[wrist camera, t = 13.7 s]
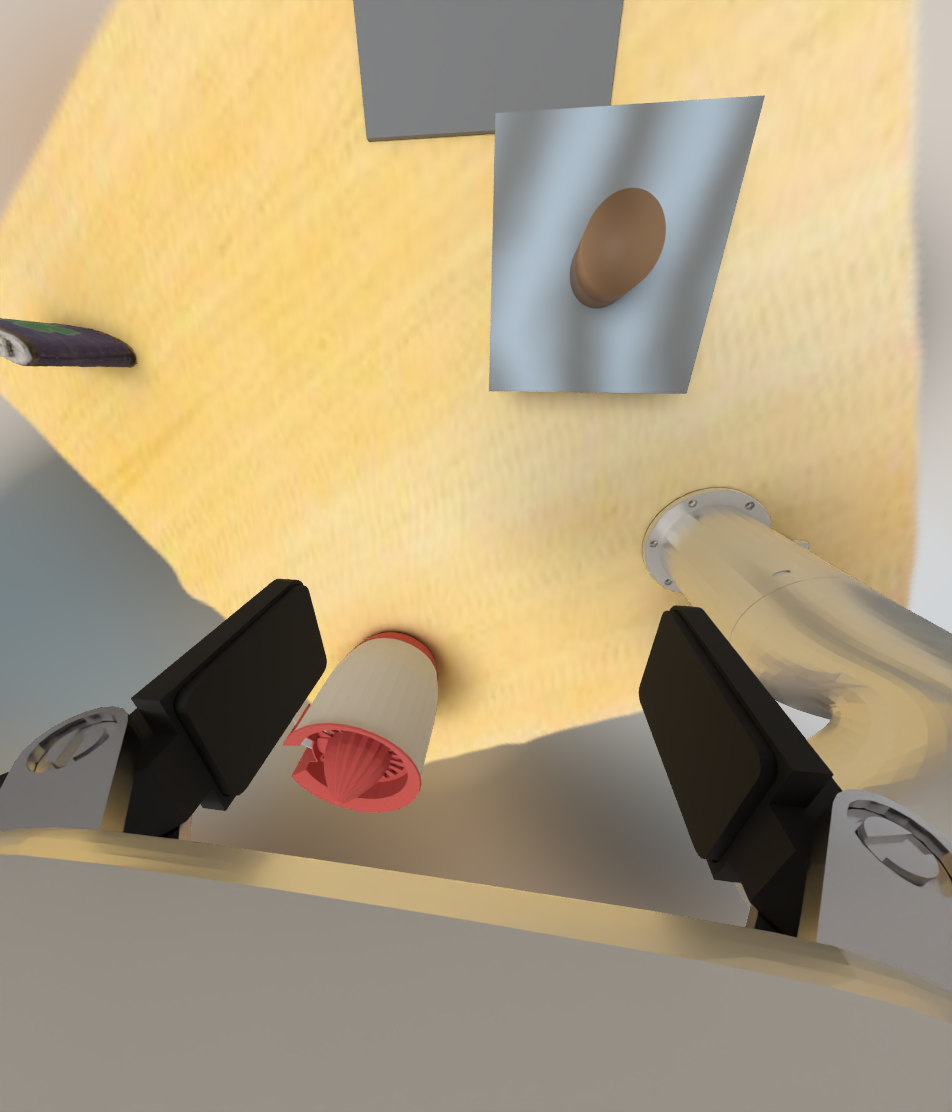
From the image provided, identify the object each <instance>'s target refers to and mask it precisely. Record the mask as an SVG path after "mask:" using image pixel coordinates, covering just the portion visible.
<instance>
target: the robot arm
mask: <svg viewBox="0 0 952 1112" xmlns="http://www.w3.org/2000/svg"><path fill="white" fill-rule="evenodd" d="M689 501H691V502H690V503H689ZM651 541H652V542H651ZM808 549H809V544H808V542H807V541H804V540H790V539H788V538H787V537H785V536H783V535H782V534H780V533H778V532H776V531H775V530H773V529H772V523H771V519H770V516H769V514H768V512H767V510H766V509H765V507H764V506H763V505H762V504H761V503H760V502H759V501H758V500H756V499H754V498H753V497H751V496H749V495H747V494H745V493H743V492H741V491H738V490H734V489H729V488H709V489H702V490H699V491H696V492H692V493H689V494H687V495H685V496H683V497H681V498H679V499H677V500H675V501H674V502H673V503H671V504H670V505H668V506H667V507H666V508H665V509H663V510H662V511H661V512H660V513H659V514H658V515H657V517H656V518H655V519H654V520H653V522H652V523H651V525H650V526H649V528H648V530H647V532H646V535H645V538H644V541H643V549H642V554H643V561H644V563H645V566H646V568H647V570H648V571H649V573H650V575H651V576H652V577H653V578H654V579H655V580H656V582H657V583H659V584H660V585H661V586H663V587H665V588H667V589H669V590H671V591H674V592H678V593H682V594H684V596H685V597H686V598H687V600H688V601H689V602H690V604H691V605H692V606H693V607H690V606H673V607H672V608H671V609H670V611H665V612H664V613H663V615H662V617H661V620H660V624H659V627H658V630H657V633H656V636H655V639H654V643H653V646H652V649H651V652H650V655H649V658H648V661H647V665H646V668H645V671H644V674H643V677H642V680H641V684H640V687H639V699H640V703H641V706H642V708H643V711H644V713H645V716H646V719H647V722H648V724H649V727H650V729H651V732H652V735H653V738H654V740H655V743H656V746H657V749H658V751H659V754H660V757H661V759H662V762H663V765H664V767H665V770H666V773H667V776H668V778H669V781H670V784H671V786H672V789H673V792H674V794H675V797H676V800H677V802H678V805H679V808H680V811H681V813H682V816H683V819H684V821H685V824H686V827H687V829H688V832H689V835H690V837H691V840H692V843H693V845H694V848H695V850H696V852H697V853H698V855H699V856H700V857H701V858H703V859H706V860H707V862H708V865H709V868H710V870H711V873H712V875H713V878H714V879H715V880H722V881H729V882H734V883H735V885H736V887H737V889H738V890H739V892H740V894H741V896H742V897H743V899H744V900H745V902H746V904H747V905H748V907H749V908H750V910H749V914H748V918H747V922H746V926H745V927H740V926H734V925H729V924H724V923H718V922H712V921H707V920H701V919H695V918H690V917H684V916H678V915H673V914H667V913H661V912H655V911H649V910H642V909H636V908H630V907H623V906H616V905H610V904H604V903H598V902H591V901H585V900H579V899H572V898H566V897H559V896H553V895H547V894H540V893H534V892H527V891H521V890H515V889H508V888H502V887H496V886H488V885H482V884H476V883H469V882H462V881H456V880H449V879H442V878H436V877H430V876H422V875H416V874H409V873H403V872H396V871H390V870H383V869H376V868H370V867H363V866H356V865H350V864H343V863H336V862H330V861H323V860H316V859H310V858H303V857H296V856H289V855H282V854H275V853H268V852H261V851H255V850H247V849H241V848H233V847H227V846H220V845H212V844H206V843H199V842H192V841H190V840H191V823H192V814H193V813H194V811H195V810H196V809H197V807H198V806H199V804H201V806H202V807H203V808H208V809H215V810H223V811H226V810H227V808H228V807H229V805H230V804H231V802H232V801H233V799H234V798H235V796H236V795H240V794H241V793H242V792H244V790H245V789H246V788H247V787H248V785H249V784H250V782H251V781H252V779H253V778H254V776H255V775H256V773H257V772H258V770H259V769H260V767H261V766H262V764H263V763H264V761H265V760H266V758H267V757H268V755H269V754H270V752H271V751H272V749H273V748H274V746H275V745H276V743H277V742H278V740H279V738H280V737H281V736H282V734H283V733H284V731H285V729H286V728H287V727H288V725H289V724H290V722H291V721H292V719H293V718H294V716H295V715H296V713H297V712H298V710H299V709H300V707H301V706H302V704H303V703H304V701H305V700H306V698H307V697H308V695H309V694H310V692H311V691H312V689H313V688H314V686H315V685H316V683H317V682H318V680H319V679H320V677H321V676H322V674H323V673H324V671H325V668H326V664H327V659H326V654H325V651H324V647H323V643H322V639H321V635H320V631H319V628H318V624H317V620H316V616H315V612H314V608H313V605H312V601H311V597H310V593H309V590H308V588H307V587H306V586H304V585H303V583H302V582H301V581H299V580H290V579H276V580H274V581H273V582H271V583H270V584H269V585H268V586H267V587H265V588H264V589H263V590H262V591H260V592H259V593H258V594H257V595H256V596H254V597H253V598H252V599H251V600H250V601H248V602H247V603H246V604H245V605H243V606H242V607H241V608H240V609H239V610H237V611H236V612H235V613H234V614H233V615H231V616H230V617H229V618H228V619H226V620H225V621H224V622H223V623H222V624H220V625H219V626H218V627H217V628H216V629H215V630H213V631H212V632H211V633H209V634H208V635H207V636H206V637H205V638H203V639H202V640H201V641H200V642H199V643H197V644H196V645H195V646H194V647H192V648H191V649H190V650H189V651H188V652H186V653H185V654H184V655H183V656H182V657H180V658H179V659H178V660H177V661H175V662H174V663H173V664H172V665H171V666H169V667H168V668H167V669H166V670H165V671H163V672H162V673H161V674H160V675H158V676H157V677H156V678H155V679H154V680H152V681H151V682H150V683H149V684H148V685H146V686H145V687H144V688H143V689H142V690H140V691H139V692H138V693H137V694H135V695H134V696H133V697H132V698H131V699H132V701H133V702H134V704H135V705H136V706H137V709H135V710H134V711H133V712H132V713H131V714H130V715H128V713H127V712H126V711H125V710H124V709H123V708H119V707H114V706H111V707H100V708H97V709H93V710H90V711H86V712H83V713H81V714H78V715H76V716H73V717H71V718H69V719H67V720H65V721H63V722H61V723H59V724H58V725H56V726H54V727H52V728H51V729H49V730H48V731H46V732H45V733H43V734H42V735H41V736H39V737H38V738H36V739H35V740H34V741H33V742H32V743H31V744H30V745H28V746H27V747H26V748H25V749H24V750H23V751H22V753H21V754H20V755H19V757H18V758H17V760H16V761H15V762H14V764H13V766H12V768H11V769H10V771H9V772H7V773H5V774H2V775H0V1112H952V634H951V633H949V632H948V631H946V630H944V629H942V628H940V627H938V626H936V625H935V624H933V623H931V622H929V621H928V620H926V619H924V618H922V617H920V616H919V615H917V614H915V613H913V612H911V611H910V610H908V609H906V608H904V607H902V606H901V605H899V604H897V603H895V602H894V601H892V600H890V599H889V598H887V597H885V596H884V595H882V594H880V593H878V592H877V591H875V590H873V589H872V588H870V587H868V586H867V585H865V584H863V583H862V582H860V581H858V580H857V579H855V578H853V577H852V576H850V575H848V574H847V573H845V572H843V571H842V570H840V569H838V568H837V567H835V566H833V565H832V564H830V563H828V562H827V561H825V560H823V559H822V558H820V557H818V556H817V555H815V554H813V553H812V552H810V551H808ZM775 700H776V701H778V702H780V703H783V704H785V705H787V706H790V707H792V708H794V709H797V710H800V711H803V712H806V713H809V714H812V715H816V716H819V717H823V718H826V719H830V722H829V723H828V724H827V725H826V727H824V728H823V729H822V730H820V731H819V732H818V733H816V734H815V735H813V736H812V737H810V738H809V739H807V740H806V739H805V737H804V736H803V735H802V734H801V732H800V731H799V730H798V729H797V727H796V726H795V725H794V723H793V722H792V721H791V720H790V719H789V717H788V716H787V715H786V713H785V712H784V711H783V710H782V708H781V707H780V706H779V704H778V703H777V702H776V701H775Z"/></svg>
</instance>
